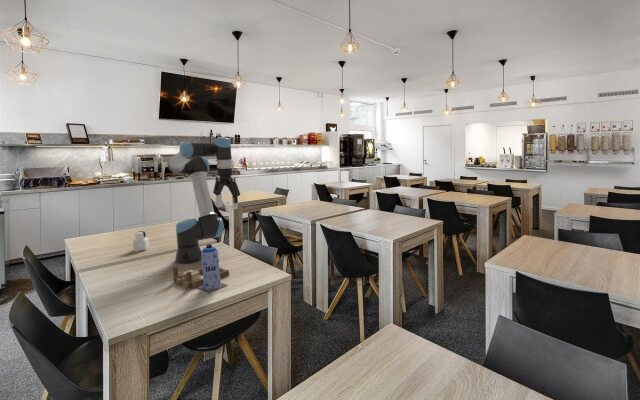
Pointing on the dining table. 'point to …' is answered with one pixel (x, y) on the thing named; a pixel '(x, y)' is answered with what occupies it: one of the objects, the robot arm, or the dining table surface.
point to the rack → (189, 283)
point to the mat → (211, 289)
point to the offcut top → (192, 274)
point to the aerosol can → (210, 267)
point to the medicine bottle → (141, 241)
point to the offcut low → (192, 280)
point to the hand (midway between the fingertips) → (227, 208)
